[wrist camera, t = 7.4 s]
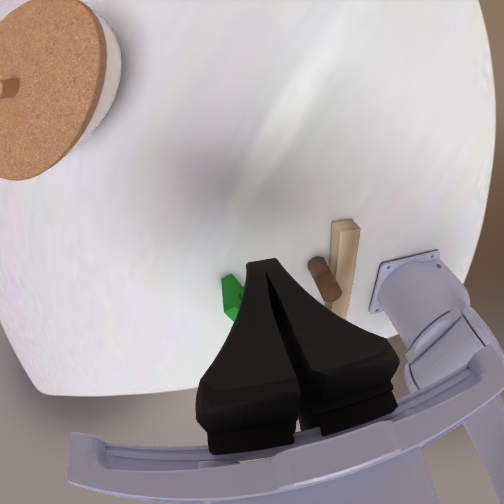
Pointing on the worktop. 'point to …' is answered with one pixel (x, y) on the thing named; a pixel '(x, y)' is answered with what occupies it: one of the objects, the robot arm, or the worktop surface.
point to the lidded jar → (52, 82)
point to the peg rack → (337, 267)
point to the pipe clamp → (231, 296)
